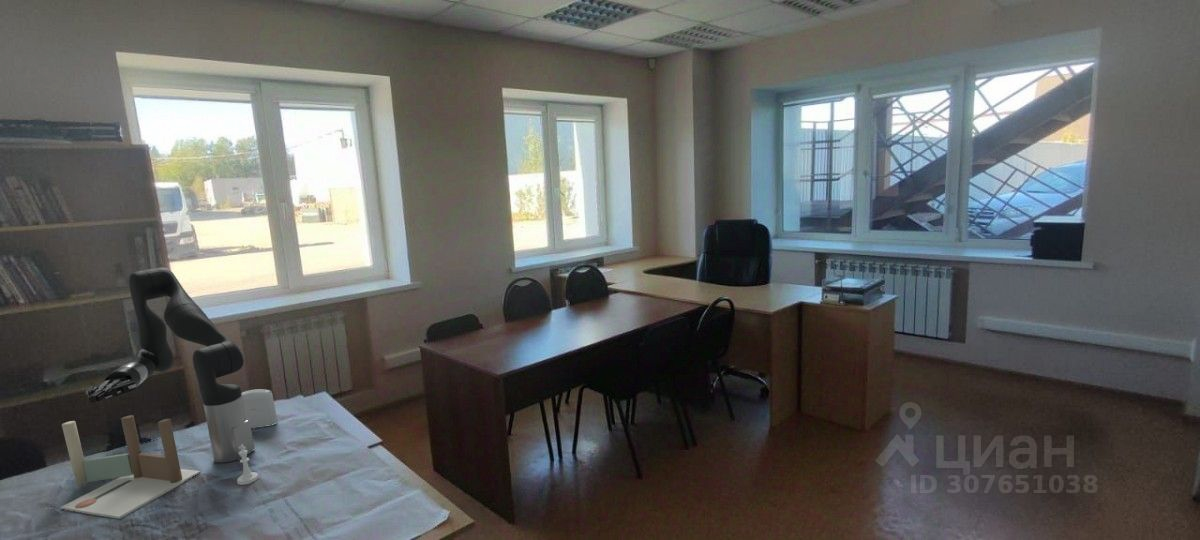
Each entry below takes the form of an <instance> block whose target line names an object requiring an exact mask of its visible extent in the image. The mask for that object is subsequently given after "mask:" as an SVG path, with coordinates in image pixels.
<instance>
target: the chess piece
mask: <svg viewBox="0 0 1200 540" xmlns="http://www.w3.org/2000/svg"><path fill="white" fill-rule="evenodd" d="M239 449H241V451H240V452H239V455H240V456H241V458H242V459H240V460H239V462H240V463H241V464H242V475H240V476H239V477H238V478H237V480H236V482H237V483H236V484H237V485H238V486H239V485H241V486H242V485H249V484H251V483H254V482H255V481H257V480H258V479H259V477H260V476H259V474H258V472H254V471H251V469H250V466H249V463H248V462H249V461H250V457H247V456H248V455H247V453H248V451H247V450H244V449H246V447H244V446H243V445H241V447H239Z"/></svg>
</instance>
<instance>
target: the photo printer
mask: <svg viewBox="0 0 1200 540" xmlns="http://www.w3.org/2000/svg"><path fill="white" fill-rule="evenodd" d="M241 393H242V399H243V405H244V410H245V416H246V420H249V421H250V426H251V428H253V429H255V428H254V427H259V426H266V425H272V424H274V423H276V422H277V423H278V416H277V411H276V406H275V399H274V395H273V394H274V393H273V392H272V390H269V389H260V388H259V389H258V388H257V389H251V390H250V389H249V390H246V391H243V392H241Z"/></svg>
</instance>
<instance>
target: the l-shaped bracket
mask: <svg viewBox="0 0 1200 540" xmlns="http://www.w3.org/2000/svg"><path fill="white" fill-rule="evenodd" d="M61 427H62V428H61V429H62V431H63V435H64V439H65V444H66V447H67V452H68V456H69V457H68V458H69V459H70V464H71V468H72V472H73V476H74V479H75V484H76V486H82V485H85V484H88V483H92V482H98V481H104V480H109V479H117V478H119V477H124V476H130V475H133V471H132V466H131V462H130V457H129V453H120V454H115V455H114V454H113V455H107V456H106V455H105V456H100V457H94V458H88V459H85V456H84V453H83V449H82V444H81V439H80V436H79V432H78V431H79V430H78V427H77V423H76V421H75V420H70V421H66V422H64V423H62V424H61Z"/></svg>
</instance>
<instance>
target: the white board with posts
mask: <svg viewBox="0 0 1200 540" xmlns="http://www.w3.org/2000/svg"><path fill="white" fill-rule="evenodd" d="M120 420H121V425H122V429H123V433H124V439H125V444H126V447H127V452H128V453H129V457H130V462H131V466H132V471H133V475H130V476H124V477H118V478H114V480H112V481H110V482H108V483H105V484H103V485H101V486H100V487H98V488H96V489H93V490H90V492H87V493H86V494H83V495H82V496H79V497H77V498H76V499H73V500H72V501H69V502H68V503H66V504H64V505H61V506H60V510H62V509H65V510H64V511H68V510H69V512H74V511H75V513H80V512H81V513H82V514H88V515H93V516H98V517H105V518H112V519H116V520H120V519H122V518H125V517H126V516H128V515H130V514H131V513H133V512H134V511H136V510H138V509H140V508H143V506H145V505H147V504H149V503H151V502H153V501H154V500H155V499H158V498H160V497H161V496H163V495H165V494H166V493H168V492H170V491H172V490H174V489H175V488H177V487H179V486H180V485H182V484H183V483H186V482H188V481H189V480H191V479H193V478H194V477H196V476H198V475H199V474H198V473H200V474H201V471H200V470H192V469H185V468H181V465H180V460H179V456H178V451H177V444H176V441H175V436H174V431H173V427H172V426H173V425H172V422H171V421H172V420H171V418H164V419H161V420H159V421H158V422H157V425H158V430H159V434H160V439H161V444H162V448H163V452H164V455H162V454H155V453H154V454H153V453H146V452H142V450H141V448H142V447H141V443H140V439H139V435H138V430H137V426H136V425H137V424H136V421H135V417H134V415H131V414H130V415H126V416H123V417H121V418H120ZM197 474H198V475H197ZM195 475H196V476H195ZM193 476H194V477H193ZM192 477H193V478H192ZM190 478H191V479H190ZM188 479H189V480H188ZM185 481H186V482H185Z"/></svg>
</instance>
